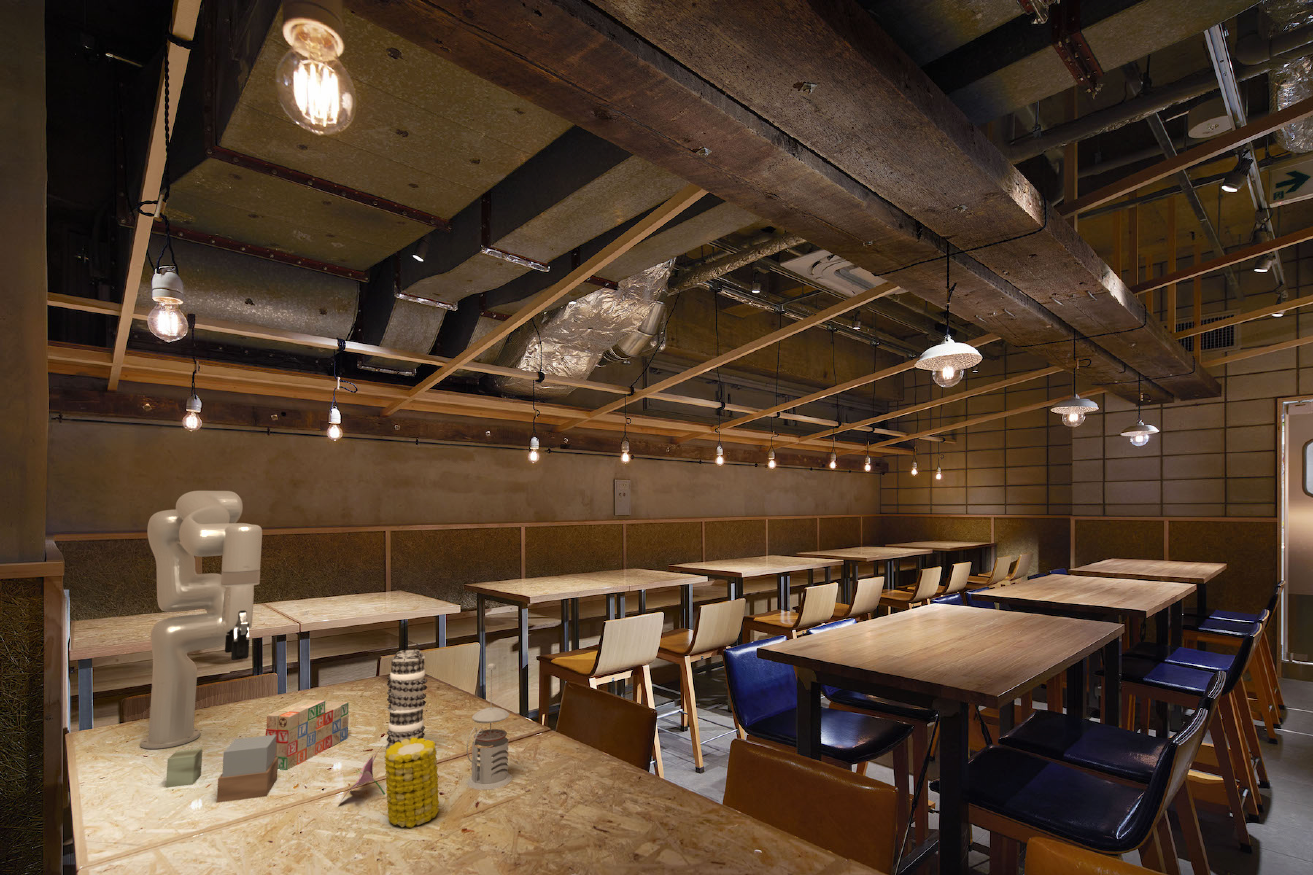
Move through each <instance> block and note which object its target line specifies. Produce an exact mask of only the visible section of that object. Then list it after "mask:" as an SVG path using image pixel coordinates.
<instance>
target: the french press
mask: <svg viewBox="0 0 1313 875" xmlns="http://www.w3.org/2000/svg"><path fill="white" fill-rule="evenodd" d="M486 669H487V670H489V671H490V707H485V708H482V709H481V710H479V711H477V712H476V713H474V714H473V715H472V716H471V719H472V721H474V722H475V723H478V724H490V725H489V728H488V729H483V728H479V730H477V727H473V729H472V730H471V731H470V734H469V736H468V738H467V744H466V756H467V760H468V761H469V762H471V775H470V777H469V778H468V779H467V781H466V785H467V786H468V788H469V787H470V788H471V789H474V790H480V791H486V790H494V789H495V790H496V789H499V788H502V787H505V786H506V785H509V783H511V782H512V780H513V776H512V775H511V773H509V770H508V769H509V764H508V763H509V758H508V757H509V752H508V751H509V738H507V734H508V733H507V731H505V730H504V729H498V728H492V723H499V722H502V721H505V720H506V719H507V718H509V716H510V712H509V711H507V710H506V709H503V708H500V707H495V706H492V703H493V702H492V701H493V700H492V699H493V697H492V696H493V691H492V690H493V670H496V669H497V664H495V663H489V664H488V665H487V668H486ZM474 730H475V734H474V735H473V739H474V740H473V741H472V745H471V746H472V747H471V748H472V751H471V754H472V755H471V759H470V755H469V741H470V738H471V735H472V734H473V731H474ZM478 746H481V747H478ZM491 746H492V747H491ZM478 752H479V753H478ZM478 758H480V759H478Z"/></svg>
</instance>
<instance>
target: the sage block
mask: <svg viewBox="0 0 1313 875" xmlns="http://www.w3.org/2000/svg"><path fill="white" fill-rule="evenodd" d="M203 749H204V748H203V747H202V748H194V749H193V748H191V749H183V750H176V751H175V752H173V754H171V755H170V756H169V757H168V758H167V763H166V764H167V766H166V767H167V768H166V780H165V788H166V789H168V788H176V787H183V786H184V787H185V786H193V785H194V784H195V783H196V782H197V780H199V779H200V777H201V776H202V764H203Z"/></svg>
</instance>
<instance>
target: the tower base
mask: <svg viewBox="0 0 1313 875" xmlns="http://www.w3.org/2000/svg"><path fill="white" fill-rule="evenodd" d="M278 771H279V770H278V757H275V759H274V761H273V762H272V764H271V765H270V767H269V768H268V770H267V771H266V772H262V773H254V774H245V775H237V776H229V777H222V773H221V775H220V776H219V777H218V778H217V789H216V790H217V792H216V803H217V804H218V803H225V802H234V801H241V800H249V799H257V798H265V797H267V796H268V795H269V793H270V791H271V790H272V788H273V787H274V786H275V784H274V783H276V782H277V780H278Z"/></svg>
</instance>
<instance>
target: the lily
mask: <svg viewBox="0 0 1313 875" xmlns="http://www.w3.org/2000/svg"><path fill="white" fill-rule="evenodd" d="M383 745H384V744H383ZM383 745H382V746H381V747H379V749H378V750H377V751H376V750H375V751H374V752H373V754H372V755H371V757H369V758H368V760H367V761H366V762H365V764H364V765H363V766H362V768H357V769H358V770H355V771H354V772H353V773H354V774H355V773H356V774H358V778H357V781H356V782H355V784H353V785H352V787H350V788H349V790H347V792H346V793H345V794H344V796H343V797H342V799H341V800H340V802H339V804H341V802H343V800H344V798H345V797H346V796H347V794H348V793H351V792H352V790H353V789H354V788H357V787H358V786H363V785H364V784H366V783H369V782H373V783H375V784H376V785H377V787H378V789H380V791H381V793H382V794H383V795H385V794H386V792H385V791H384V790H383V787H382V786H381V785H380V783H378V781H377V780H375V779H374V778H375V777H374V772H373V769H374V768H373V766H374V763H375V759H376V757H377V755H378V754H379V751H380V750H381V748H382V747H383Z"/></svg>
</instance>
